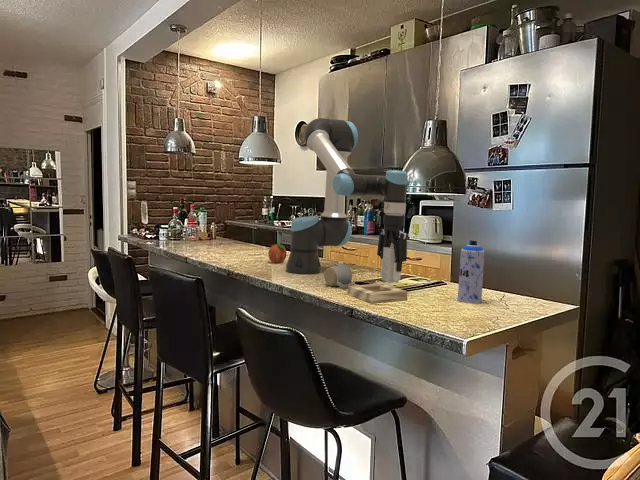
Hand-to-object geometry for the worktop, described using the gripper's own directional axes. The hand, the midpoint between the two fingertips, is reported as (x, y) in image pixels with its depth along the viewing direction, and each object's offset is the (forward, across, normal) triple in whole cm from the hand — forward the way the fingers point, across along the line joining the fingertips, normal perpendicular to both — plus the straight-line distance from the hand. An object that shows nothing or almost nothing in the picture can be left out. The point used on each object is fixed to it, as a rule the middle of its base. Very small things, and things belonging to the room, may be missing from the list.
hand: (390, 278), depth 170 cm
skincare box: (+1, 0, 0) cm, 1 cm away
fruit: (+6, -69, -13) cm, 71 cm away
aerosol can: (+4, +25, +14) cm, 29 cm away
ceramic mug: (+5, -11, -14) cm, 18 cm away
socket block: (+4, +9, -12) cm, 15 cm away
